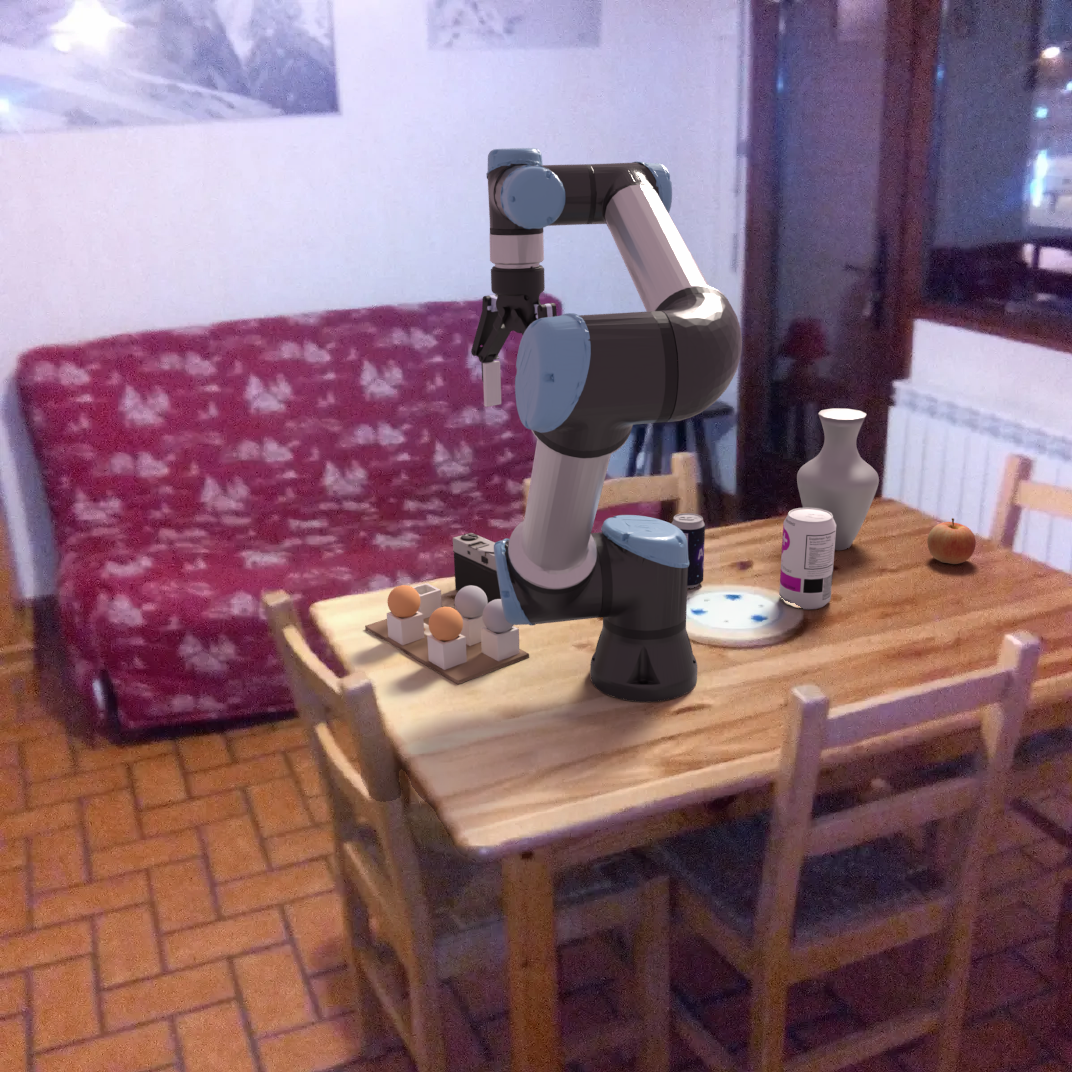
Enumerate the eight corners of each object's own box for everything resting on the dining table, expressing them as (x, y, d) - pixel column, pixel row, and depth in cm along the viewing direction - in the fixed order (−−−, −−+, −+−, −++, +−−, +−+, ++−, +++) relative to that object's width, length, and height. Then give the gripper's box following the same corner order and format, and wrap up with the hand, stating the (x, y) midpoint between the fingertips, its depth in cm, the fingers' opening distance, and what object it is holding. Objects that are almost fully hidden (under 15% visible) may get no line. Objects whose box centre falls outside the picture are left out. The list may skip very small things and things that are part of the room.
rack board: (529, 657, 167) (528, 651, 167) (457, 684, 159) (457, 678, 159) (433, 607, 185) (433, 602, 185) (365, 629, 178) (365, 624, 177)
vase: (887, 543, 209) (899, 411, 201) (848, 564, 199) (859, 427, 191) (818, 526, 219) (827, 400, 210) (778, 546, 209) (785, 414, 200)
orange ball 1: (428, 616, 171) (425, 585, 170) (400, 625, 168) (397, 594, 167) (410, 608, 175) (407, 578, 174) (382, 617, 172) (379, 586, 171)
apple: (921, 552, 204) (925, 511, 201) (967, 554, 203) (972, 512, 200) (929, 569, 197) (934, 526, 194) (977, 570, 196) (982, 527, 193)
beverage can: (701, 591, 189) (704, 524, 185) (668, 589, 190) (669, 522, 186) (704, 578, 195) (706, 513, 190) (671, 576, 196) (672, 511, 192)
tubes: (519, 653, 167) (518, 628, 166) (456, 677, 160) (455, 651, 159) (428, 605, 184) (426, 582, 183) (367, 624, 178) (366, 601, 176)
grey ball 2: (523, 632, 166) (522, 600, 164) (496, 641, 163) (495, 610, 161) (502, 621, 169) (501, 590, 168) (476, 630, 166) (474, 599, 165)
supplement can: (774, 607, 183) (779, 519, 177) (784, 588, 190) (789, 504, 185) (825, 613, 180) (832, 525, 175) (833, 594, 187) (840, 509, 182)
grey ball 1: (494, 617, 171) (493, 587, 169) (468, 626, 168) (466, 595, 166) (475, 607, 174) (473, 577, 173) (448, 616, 172) (447, 586, 170)
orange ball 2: (470, 640, 163) (469, 608, 162) (442, 650, 160) (440, 618, 159) (450, 629, 167) (449, 598, 165) (422, 638, 164) (420, 607, 162)
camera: (542, 602, 187) (540, 545, 183) (502, 615, 182) (500, 557, 178) (491, 578, 197) (489, 524, 193) (453, 590, 192) (450, 535, 189)
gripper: (597, 269, 150) (597, 423, 158) (485, 256, 169) (489, 395, 176) (554, 274, 146) (556, 433, 153) (444, 260, 164) (450, 402, 171)
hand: (521, 413), depth 165 cm, fingers open, 13 cm apart
